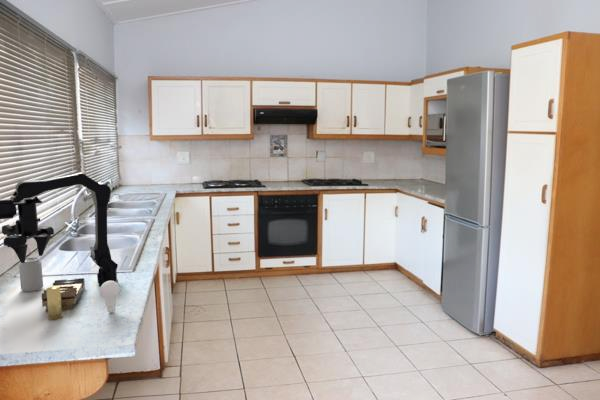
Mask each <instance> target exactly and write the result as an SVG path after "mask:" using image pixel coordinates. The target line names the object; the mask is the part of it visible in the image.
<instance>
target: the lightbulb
mask: <svg viewBox="0 0 600 400" xmlns="http://www.w3.org/2000/svg"><path fill="white" fill-rule="evenodd" d="M120 290H121V288H120V284H118V282H117V283H116V282H115V281H106V282H104V283H103V284H102V286H100V288H99V293H100V295H101V296H102V298H103V299H104V303H105V306H106V311H107V312H108V313H110V314H113V313H114V312H115V311H116V304H117V298H118V296H119V294H120Z"/></svg>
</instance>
